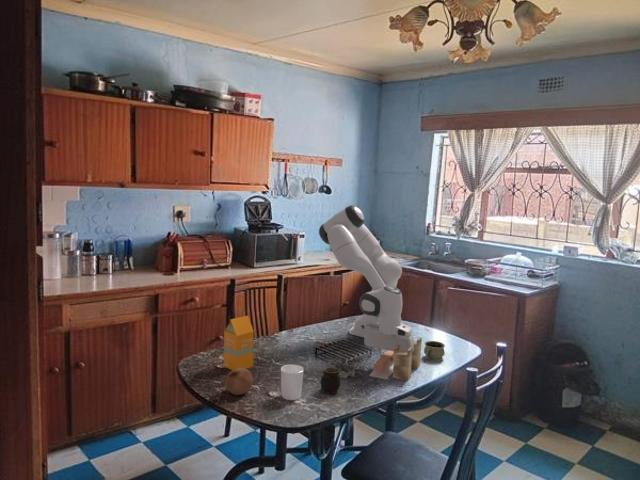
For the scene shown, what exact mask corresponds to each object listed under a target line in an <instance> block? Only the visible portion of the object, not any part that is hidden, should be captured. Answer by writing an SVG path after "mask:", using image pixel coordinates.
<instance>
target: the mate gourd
mask: <svg viewBox="0 0 640 480" xmlns="http://www.w3.org/2000/svg"><path fill="white" fill-rule="evenodd" d="M341 366H342V364H341V365H340V366H339V367H338V368H333V367H330V366H328V367H325V368H323V369H322V370H323V373H322V374H323V375H322V376H321V378H320V381H319V383H320V388H321V390H322V391H323V392H324V393H326V394H335V393H337V392H338V391H339V389H340V387H341V378H340V377H339V375H338V374H339V370H338V369H339V368H340V367H341Z"/></svg>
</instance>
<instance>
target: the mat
mask: <svg viewBox="0 0 640 480" xmlns="http://www.w3.org/2000/svg"><path fill="white" fill-rule="evenodd" d="M393 364H394V362H393V361H392V362H391V363H390V364H389V365H388V366H387V367H386V368H385V369H384V370H383V371H382V372H377V371H374V370H372V371H371V372H370V374H369V377H373V378H377V379H382V380H386V381H387V380H388V379H389V377H391V376H392V375H393Z"/></svg>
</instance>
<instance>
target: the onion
mask: <svg viewBox="0 0 640 480" xmlns="http://www.w3.org/2000/svg"><path fill="white" fill-rule="evenodd" d="M253 383H254V377H253V375H252V373H251V371H250V370H248V368H246V369H245V368H237V369H234V370H231V371H230V372H228V373H227V375H226V378H225V387H226V388H227V391H228V392H229V393H231V394H232V395H235V396H240V395H244V394H246V393H247V392H249V390H250V389H251V388H252V386H253Z"/></svg>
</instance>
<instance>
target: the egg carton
mask: <svg viewBox="0 0 640 480" xmlns="http://www.w3.org/2000/svg"><path fill="white" fill-rule="evenodd" d="M328 364H329V367H333V368H338V367H339V366H340V365H341V364H342V366H341V367H340V368H339V369H338V370H339V374H338V376H339V379H348V377H355V375H356V369H357V366H356V365H355V364H352V365H351V364H349V363H346V362H343V361H342V360H340V361H339V360H337V361H328Z"/></svg>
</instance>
